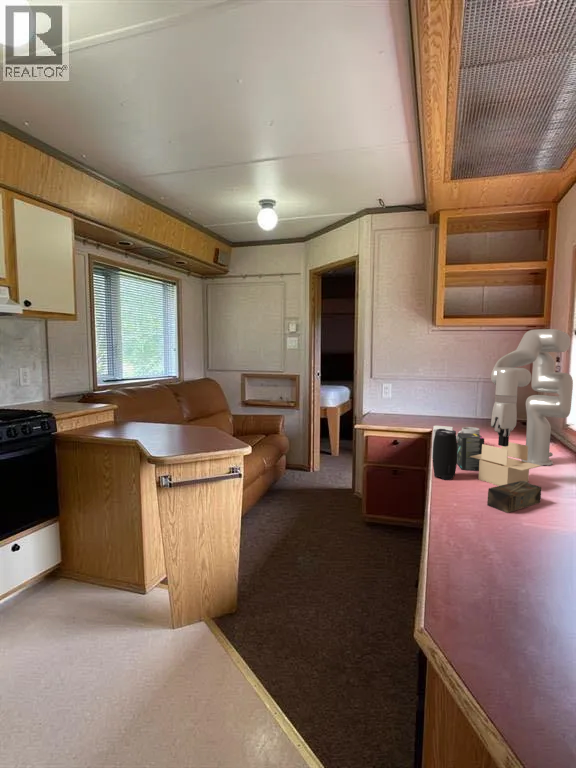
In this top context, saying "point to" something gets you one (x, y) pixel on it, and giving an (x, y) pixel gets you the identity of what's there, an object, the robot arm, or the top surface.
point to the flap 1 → (494, 454)
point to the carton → (504, 471)
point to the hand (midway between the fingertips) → (503, 445)
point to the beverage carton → (513, 496)
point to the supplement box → (435, 431)
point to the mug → (469, 430)
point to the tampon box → (469, 450)
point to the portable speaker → (445, 454)
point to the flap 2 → (517, 451)
